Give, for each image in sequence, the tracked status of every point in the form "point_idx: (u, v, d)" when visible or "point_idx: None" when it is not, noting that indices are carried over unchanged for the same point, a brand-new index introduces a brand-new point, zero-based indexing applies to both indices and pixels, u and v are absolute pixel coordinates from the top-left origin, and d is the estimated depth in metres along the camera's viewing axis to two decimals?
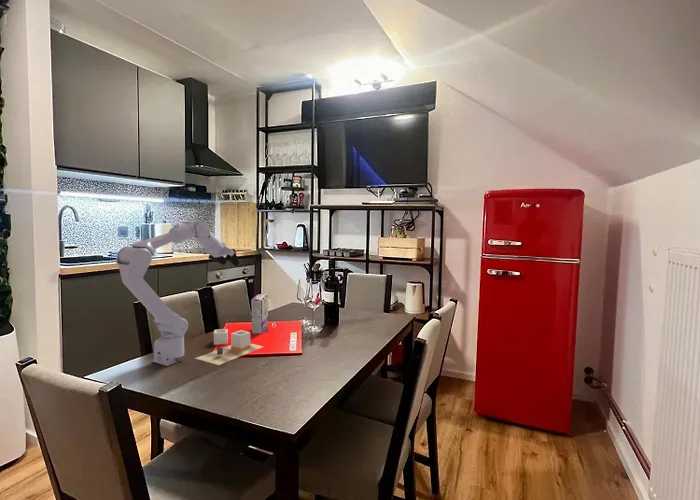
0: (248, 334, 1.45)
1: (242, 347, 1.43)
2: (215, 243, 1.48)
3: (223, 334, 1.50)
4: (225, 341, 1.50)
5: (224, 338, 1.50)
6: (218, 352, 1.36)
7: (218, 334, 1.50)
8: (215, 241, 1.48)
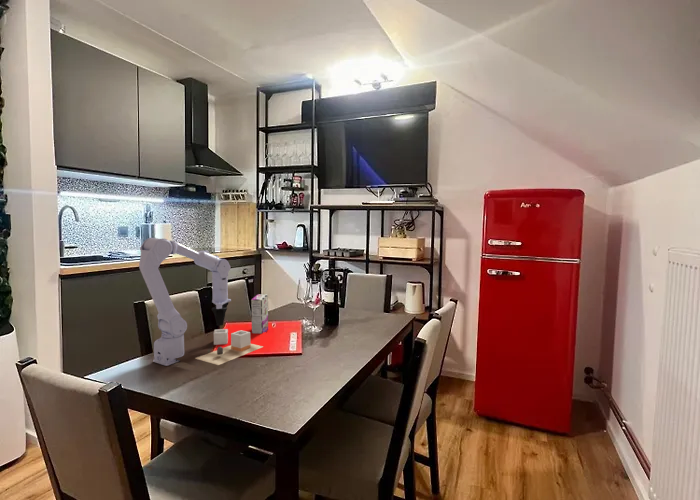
0: (248, 334, 1.45)
1: (242, 347, 1.43)
2: (223, 289, 1.49)
3: (223, 334, 1.50)
4: (225, 341, 1.50)
5: (224, 338, 1.50)
6: (218, 352, 1.36)
7: (218, 334, 1.50)
8: (225, 287, 1.49)
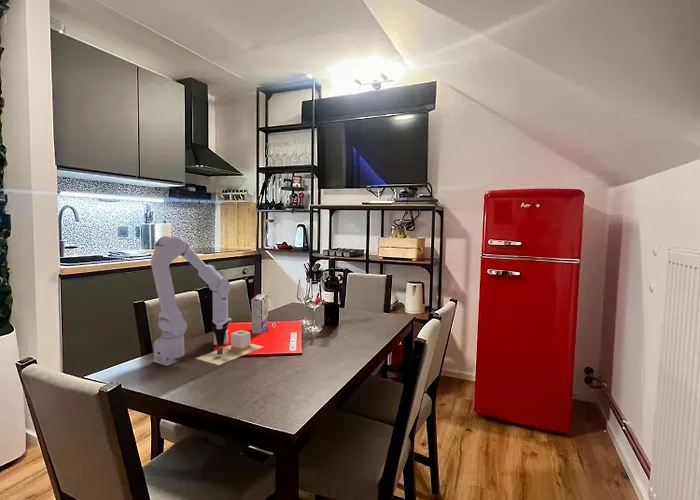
0: (248, 334, 1.45)
1: (242, 347, 1.43)
2: (224, 308, 1.50)
3: None
4: (225, 341, 1.50)
5: (224, 338, 1.50)
6: (218, 352, 1.36)
7: None
8: (225, 307, 1.50)
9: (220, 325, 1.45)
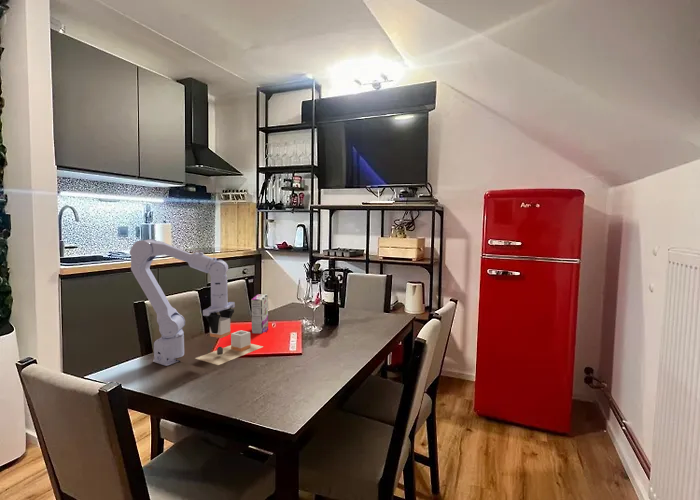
0: (248, 334, 1.45)
1: (242, 347, 1.43)
2: (217, 294, 1.35)
3: None
4: (219, 331, 1.36)
5: (218, 327, 1.36)
6: (218, 352, 1.36)
7: None
8: (219, 293, 1.35)
9: (206, 312, 1.32)
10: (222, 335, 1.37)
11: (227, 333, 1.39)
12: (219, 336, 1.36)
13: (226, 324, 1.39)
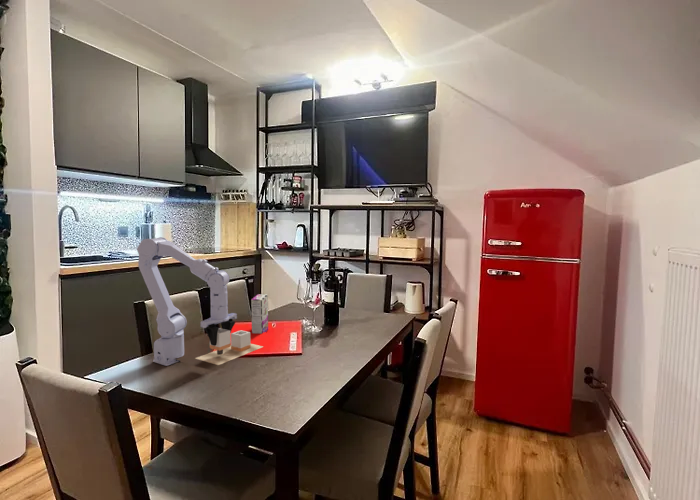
0: (248, 334, 1.45)
1: (242, 347, 1.43)
2: (215, 306, 1.33)
3: None
4: (218, 343, 1.33)
5: (217, 339, 1.33)
6: (218, 352, 1.36)
7: None
8: (217, 304, 1.33)
9: (203, 323, 1.29)
10: (221, 347, 1.34)
11: (227, 345, 1.36)
12: (218, 348, 1.34)
13: (225, 336, 1.35)
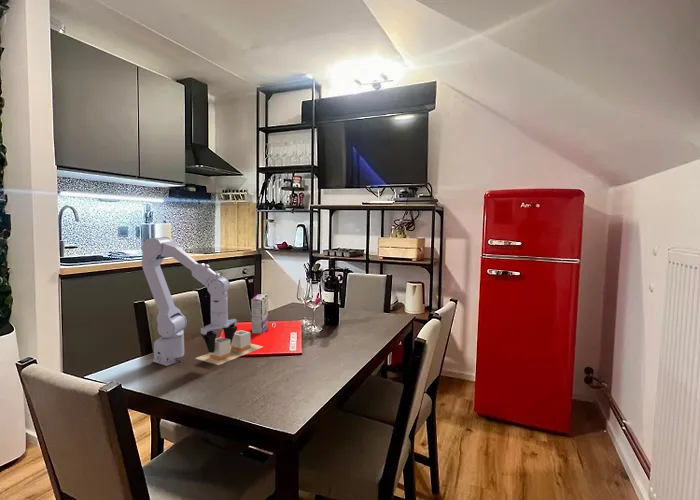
0: (248, 334, 1.45)
1: (242, 347, 1.43)
2: (215, 312, 1.33)
3: (216, 344, 1.34)
4: (218, 352, 1.34)
5: (217, 349, 1.34)
6: None
7: None
8: (217, 311, 1.33)
9: (203, 330, 1.30)
10: (221, 357, 1.34)
11: (227, 354, 1.36)
12: (218, 358, 1.34)
13: (225, 345, 1.36)
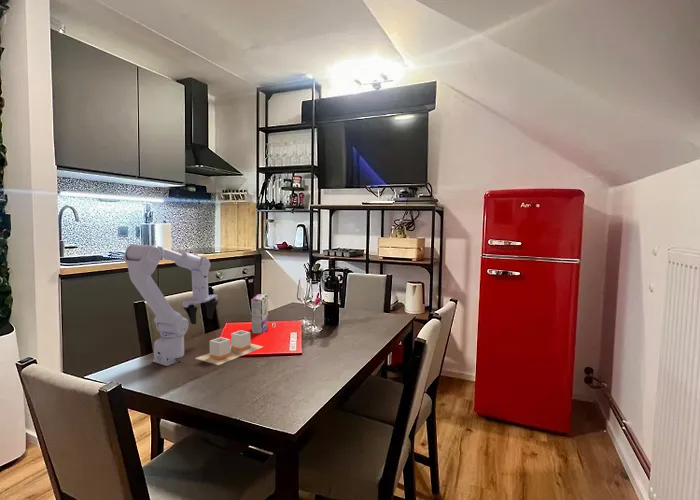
0: (248, 334, 1.45)
1: (242, 347, 1.43)
2: (205, 287, 1.47)
3: (216, 344, 1.34)
4: (218, 352, 1.34)
5: (217, 349, 1.34)
6: None
7: (212, 343, 1.35)
8: (206, 285, 1.48)
9: (185, 303, 1.43)
10: (221, 357, 1.34)
11: (227, 354, 1.36)
12: (218, 358, 1.34)
13: (225, 345, 1.36)
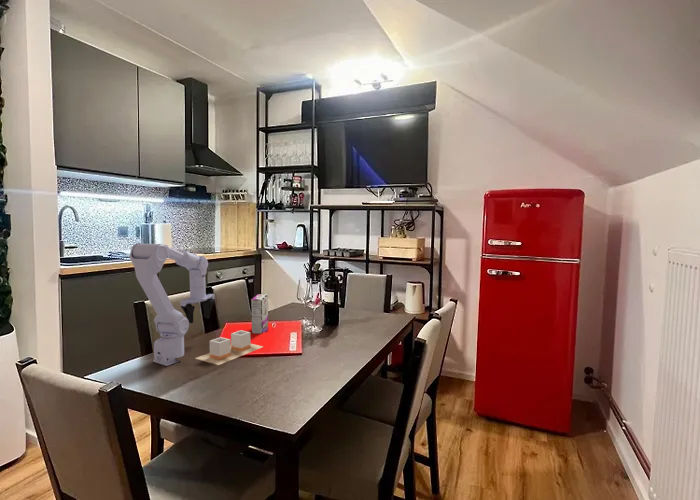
0: (248, 334, 1.45)
1: (242, 347, 1.43)
2: (203, 286, 1.49)
3: (216, 344, 1.34)
4: (218, 352, 1.34)
5: (217, 349, 1.34)
6: None
7: (212, 343, 1.35)
8: (204, 284, 1.50)
9: (182, 302, 1.44)
10: (221, 357, 1.34)
11: (227, 354, 1.36)
12: (218, 358, 1.34)
13: (225, 345, 1.36)
